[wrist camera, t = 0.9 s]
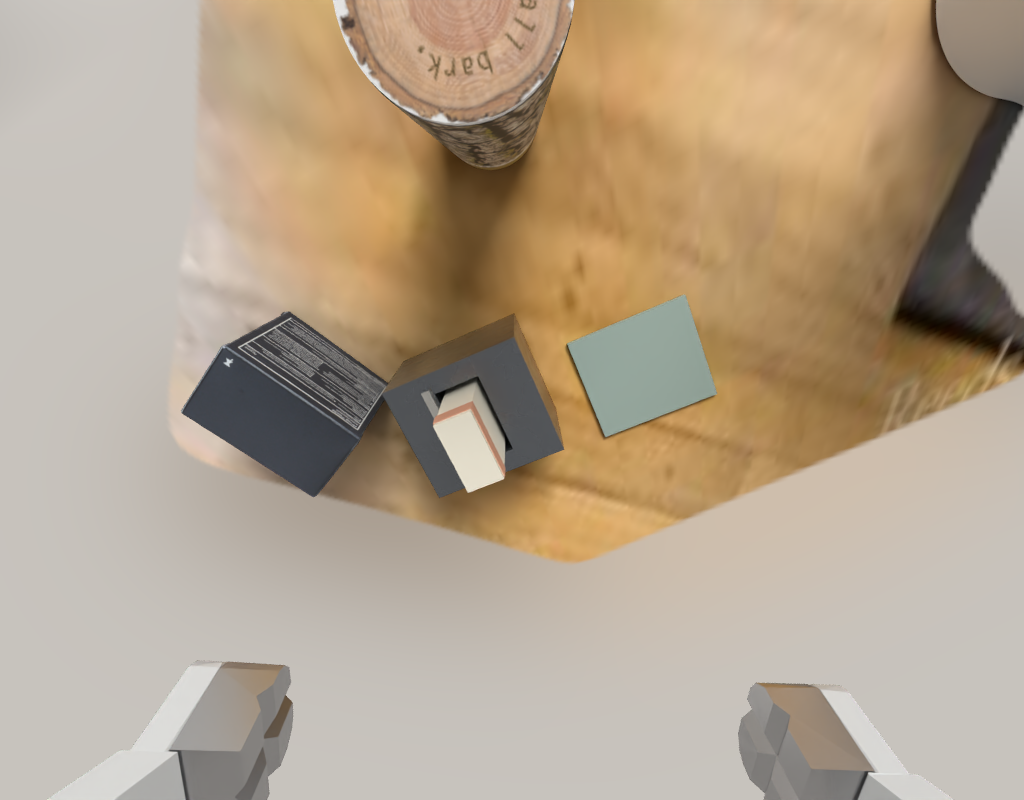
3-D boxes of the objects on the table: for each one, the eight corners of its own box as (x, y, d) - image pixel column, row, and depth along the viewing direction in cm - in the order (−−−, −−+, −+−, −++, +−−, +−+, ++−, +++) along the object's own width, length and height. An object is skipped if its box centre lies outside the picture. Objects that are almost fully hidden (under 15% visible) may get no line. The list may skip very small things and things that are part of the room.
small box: (247, 368, 45) (172, 414, 35) (287, 307, 43) (220, 339, 33) (353, 440, 47) (311, 503, 37) (395, 386, 45) (363, 437, 35)
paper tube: (548, 153, 39) (603, 78, 15) (461, 183, 40) (385, 156, 16) (521, 49, 37) (536, -221, 13) (429, 84, 37) (286, -116, 14)
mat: (683, 294, 42) (685, 295, 42) (715, 392, 45) (717, 393, 45) (566, 343, 44) (567, 344, 43) (604, 435, 47) (605, 437, 46)
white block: (480, 363, 41) (470, 410, 32) (506, 418, 43) (505, 479, 34) (450, 375, 42) (431, 426, 32) (477, 430, 43) (467, 493, 34)
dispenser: (514, 313, 43) (514, 338, 35) (555, 409, 46) (564, 451, 38) (404, 361, 44) (380, 395, 37) (451, 451, 47) (438, 500, 39)
